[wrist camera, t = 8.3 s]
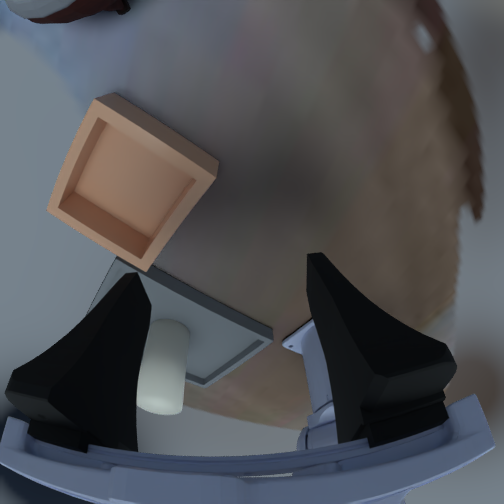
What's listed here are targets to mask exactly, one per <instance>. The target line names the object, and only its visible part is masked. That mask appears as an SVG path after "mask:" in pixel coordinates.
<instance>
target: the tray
mask: <svg viewBox="0 0 504 504" xmlns="http://www.w3.org/2000/svg"><path fill="white" fill-rule="evenodd" d="M132 272H138V274H139V276H140V279H141V281H142V284H143V286H144V288H145V291H146V293H147V295H148V298H149V300H150V302H151V304H152V310H151V319H150V326H151V324H152V323H153V322H154V321H156V320H160V319H170V320H175V321H178V322H180V323H182V324H183V325H184V326H186V327H187V329H188V330H189V332H190V338H189V347H188V356H187V365H186V374H185V381H186V382H189V383H192V384H194V385H197V386H200V387H203V388H207V387H208V386H210V385H211V384H213V383H214V382H216V381H217V380H219V379H220V378H222V377H223V376H225V375H226V374H228V373H229V372H231V371H232V370H234V369H235V368H237V367H238V366H240V365H241V364H242V363H244V362H245V361H247V360H248V359H250V358H251V357H252V356H254V355H255V354H257V353H258V352H259V351H261V350H262V349H264V348H265V347H266V346H268V345H269V344H270V343H272V342H273V341H274V340H273V332H272V329H271V328H269V327H267V326H265V325H263V324H261V323H259V322H257V321H255V320H253V319H251V318H249V317H247V316H245V315H243V314H241V313H239V312H237V311H235V310H233V309H231V308H229V307H227V306H225V305H223V304H221V303H219V302H218V301H216V300H214V299H212V298H210V297H208V296H206V295H204V294H203V293H201V292H199V291H197V290H195V289H193V288H191V287H190V286H188V285H186V284H184V283H182V282H181V281H179V280H177V279H175V278H173V277H172V276H170V275H168V274H166V273H164V272H163V271H161V270H159V269H157V268H156V267H154V266H152V265H151V266H150V267H149V269H148V270H147V272H145V271H143V270H141V269H139V268H138V267H136V266H134V265H133V264H131V263H129V262H127V261H126V260H124V259H122V258H121V257H119V256H117V257H116V258H115V260H114V262H113V264H112V266H111V268H110V270H109V271H108V273H107V275H106V277H105V279H104V281H103V282H102V284H101V286H100V288H99V290H98V292H97V294H96V296H95V298H94V300H93V302H92V304H91V306H90V308H89V310H88V312H87V314H88V313H89V312H90V311H91V310H92V309H93V308H94V307H95V306H96V305H97V304H98V303H99V301H100V300H101V299H102V298H103V297H104V296H105V295H106V294H107V292H108V291H109V290H110V289H111V288H112V287H113V286H114V285H115V283H116V282H117V281H118V280H119V279H120V278H121V277H122V276H123V275H124V274H125V273H132ZM87 314H86V315H87ZM149 329H150V327H149ZM148 333H149V331H148ZM147 338H148V335H147ZM146 342H147V339H146ZM145 346H146V344H145ZM144 351H145V348H144ZM143 355H144V352H143ZM142 360H143V356H142ZM141 363H142V361H141Z"/></svg>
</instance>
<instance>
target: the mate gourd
mask: <svg viewBox="0 0 504 504" xmlns="http://www.w3.org/2000/svg"><path fill="white" fill-rule="evenodd" d="M5 2H6V4H7V6H8V8H9V9H10V11H12V12H14V13H15V14H17V15H19V16H21V17H22V18H24V19H28V20H30V21H32V22H35V23H40V24H48V23H69V22H72V21H75V20H78V19H81V18H84V17H87V16H91V15H94V14H96V13H98V12H100V11H102V10H104V11H114V10H116V12H117V13H118V14H119V15H123V14H125V13H126V12H128V11H129V10H130V9H131V8H130V6H129V4H128V2H127V0H5Z"/></svg>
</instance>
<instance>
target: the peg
mask: <svg viewBox="0 0 504 504" xmlns="http://www.w3.org/2000/svg"><path fill="white" fill-rule="evenodd" d="M189 338H190V332H189V330H188V329H187V327H186V326H184V325H183V324H182V323H180V322H178V321H175V320H170V319H160V320H156V321H154V322H153V323H152V324H151V326H150V329H149V333H148V338H147V342H146V346H145V351H144V355H143V360H142V365H141V369H140V374H139V379H138V387H137V405H138V406H139V407H140V408H142V409H144V410H146V411H148V412H152V413H156V414H161V415H174V414H178V413H180V412H181V411H182V406H183V395H184V384H185V374H186V365H187V356H188V347H189Z"/></svg>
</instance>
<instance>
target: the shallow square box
mask: <svg viewBox="0 0 504 504" xmlns="http://www.w3.org/2000/svg"><path fill="white" fill-rule="evenodd" d="M218 166H219V161H218V160H217V159H215V158H214V157H212V156H211V155H209V154H208V153H206V152H205V151H204V150H202V149H201V148H199V147H198V146H196V145H195V144H193V143H192V142H190V141H189V140H187V139H186V138H184V137H183V136H181V135H180V134H178V133H177V132H175V131H174V130H172V129H171V128H169V127H168V126H166V125H165V124H163V123H162V122H160V121H159V120H157V119H155V118H154V117H152V116H151V115H149V114H148V113H146V112H144V111H143V110H141V109H140V108H138V107H137V106H135V105H133V104H132V103H130V102H129V101H127V100H125V99H124V98H122V97H120V96H119V95H117V94H116V93H111V94H107V95H104V96H101V97H98V98H95V99H94V100H93V102H92V104H91V105H90V107H89V109H88V111H87V113H86V115H85V117H84V119H83V121H82V123H81V125H80V127H79V129H78V131H77V133H76V136H75V138H74V140H73V142H72V144H71V147H70V149H69V151H68V154H67V156H66V158H65V161H64V164H63V166H62V168H61V171H60V174H59V176H58V179H57V181H56V184H55V187H54V190H53V193H52V195H51V198H50V201H49V204H48V207H47V211H48V212H49V213H51V214H52V215H54V216H56V217H57V218H58V219H60V220H61V221H63V222H64V223H66V224H67V225H69V226H70V227H72V228H74V229H75V230H77V231H78V232H80V233H81V234H83V235H85V236H86V237H88V238H89V239H91V240H93V241H94V242H96V243H97V244H99V245H101V246H103V247H104V248H106V249H107V250H109V251H111V252H112V253H114V254H116V255H117V256H119V257H121V258H122V259H124V260H126V261H127V262H129V263H131V264H133V265H134V266H136V267H138V268H139V269H141V270H143V271H145V272H147V270H148V269H149V267H150V266H151V264H152V263H153V262H154V260H155V259H156V257H157V256H158V254H159V253H160V252H161V250H162V249H163V248H164V246H165V245H166V243H167V242H168V241H169V239H170V238H171V236H172V235H173V234H174V232H175V231H176V230H177V228H178V227H179V226H180V224H181V223H182V222H183V220H184V219H185V218H186V216H187V215H188V214H189V212H190V211H191V210H192V208H193V207H194V206H195V205H196V203H197V202H198V201H199V199H200V198H201V197H202V196H203V194H204V193H205V192H206V190H207V189H208V188H209V187H210V185H211V184H212V183H213V182H214V180H215V179H216V178H217V172H218Z"/></svg>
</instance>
